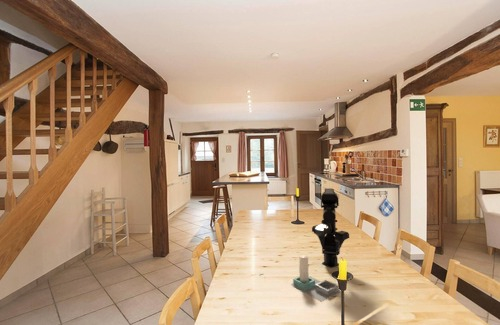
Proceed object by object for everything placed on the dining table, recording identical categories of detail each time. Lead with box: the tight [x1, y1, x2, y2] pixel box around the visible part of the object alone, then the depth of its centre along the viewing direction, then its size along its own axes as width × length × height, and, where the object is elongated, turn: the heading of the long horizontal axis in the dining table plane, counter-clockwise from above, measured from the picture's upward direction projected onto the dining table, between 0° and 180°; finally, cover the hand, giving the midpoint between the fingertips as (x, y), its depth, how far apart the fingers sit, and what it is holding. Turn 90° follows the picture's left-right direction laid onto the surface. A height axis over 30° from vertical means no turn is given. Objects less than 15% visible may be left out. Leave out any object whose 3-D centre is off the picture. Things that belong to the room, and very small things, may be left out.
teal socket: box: [292, 276, 315, 290], centre depth 120 cm, size 7×7×2 cm
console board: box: [290, 276, 342, 303], centre depth 118 cm, size 18×13×1 cm
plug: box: [298, 254, 310, 284], centre depth 120 cm, size 4×4×13 cm
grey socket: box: [315, 279, 339, 297], centre depth 115 cm, size 7×7×2 cm
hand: (330, 249), depth 131 cm, fingers open, 9 cm apart
